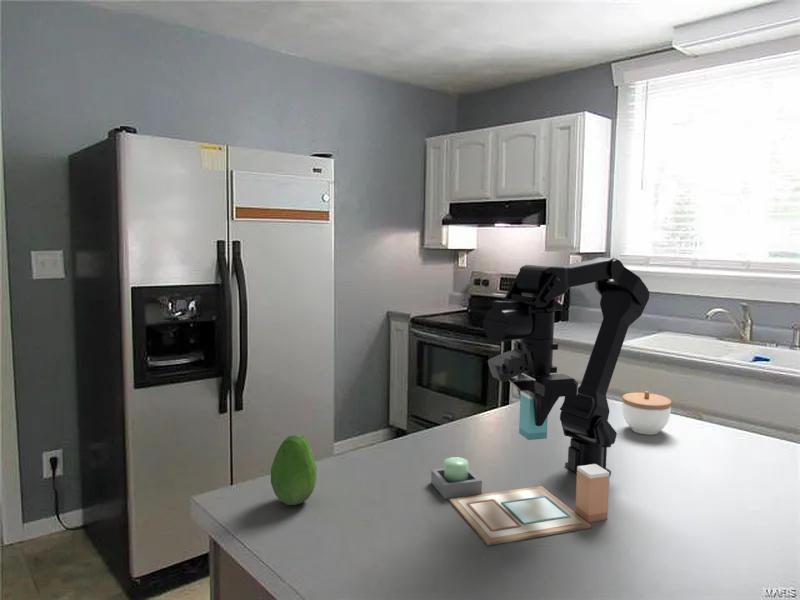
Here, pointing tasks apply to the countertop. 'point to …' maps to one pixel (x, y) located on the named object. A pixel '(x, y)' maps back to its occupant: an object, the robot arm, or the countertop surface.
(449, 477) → the button
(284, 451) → the avocado
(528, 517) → the colouring board
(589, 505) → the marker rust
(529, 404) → the teal white tall block
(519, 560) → the countertop surface
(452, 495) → the button pad
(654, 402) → the lidded jar
